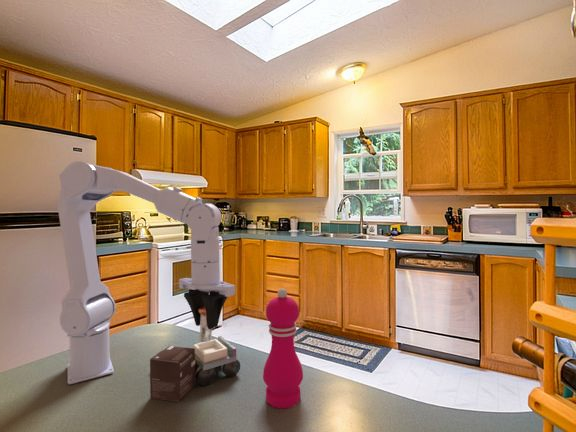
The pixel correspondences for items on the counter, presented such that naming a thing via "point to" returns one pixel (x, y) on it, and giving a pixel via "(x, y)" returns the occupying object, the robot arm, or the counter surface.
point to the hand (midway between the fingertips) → (206, 325)
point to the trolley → (228, 365)
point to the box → (172, 373)
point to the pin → (204, 326)
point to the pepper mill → (282, 353)
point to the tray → (210, 350)
